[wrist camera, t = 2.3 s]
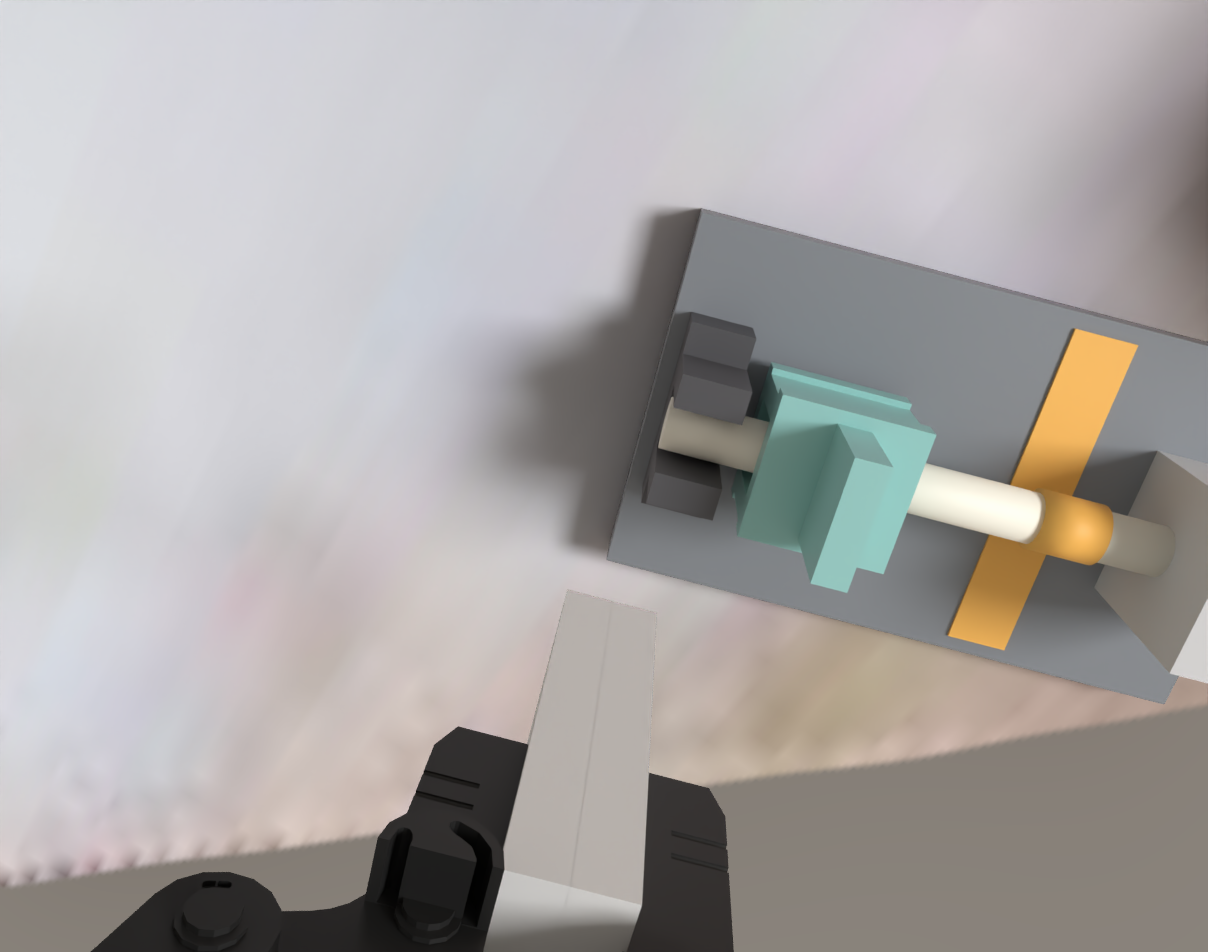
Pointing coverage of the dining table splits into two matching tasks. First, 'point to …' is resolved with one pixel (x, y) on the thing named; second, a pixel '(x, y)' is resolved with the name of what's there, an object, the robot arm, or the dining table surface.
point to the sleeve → (831, 473)
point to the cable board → (944, 457)
